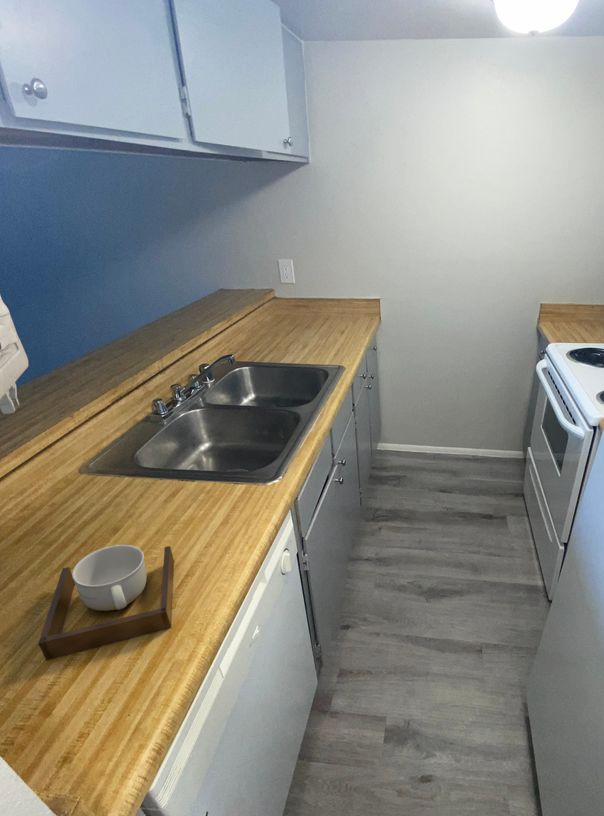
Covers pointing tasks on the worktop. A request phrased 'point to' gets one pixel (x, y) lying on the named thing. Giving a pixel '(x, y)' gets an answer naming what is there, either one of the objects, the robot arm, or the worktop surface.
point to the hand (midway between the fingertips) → (11, 410)
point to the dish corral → (106, 632)
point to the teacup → (110, 577)
